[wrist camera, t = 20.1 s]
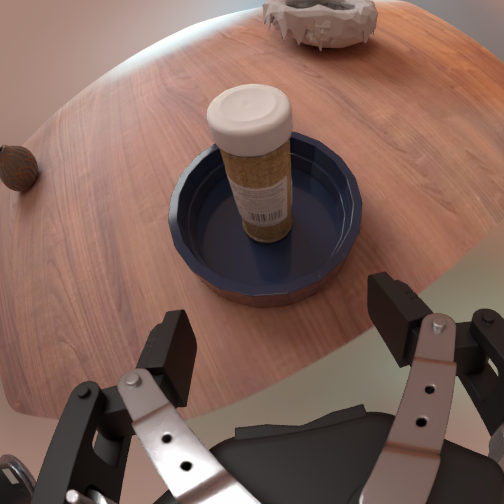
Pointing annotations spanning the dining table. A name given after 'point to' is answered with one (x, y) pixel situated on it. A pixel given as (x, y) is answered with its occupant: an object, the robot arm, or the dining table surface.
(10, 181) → the vase
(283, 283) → the pan
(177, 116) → the dining table surface
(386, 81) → the dining table surface
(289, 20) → the bowl
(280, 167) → the sprinkles bottle
